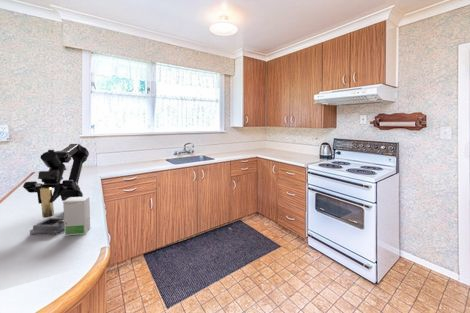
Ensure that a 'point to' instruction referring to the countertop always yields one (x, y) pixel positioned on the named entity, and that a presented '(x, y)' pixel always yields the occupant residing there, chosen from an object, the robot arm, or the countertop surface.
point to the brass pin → (46, 202)
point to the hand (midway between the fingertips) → (45, 202)
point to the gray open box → (48, 227)
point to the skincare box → (76, 215)
